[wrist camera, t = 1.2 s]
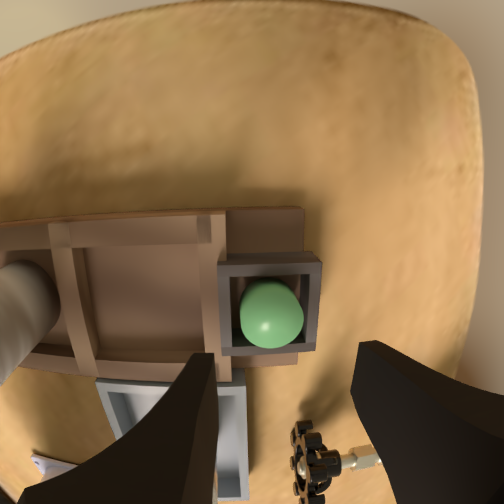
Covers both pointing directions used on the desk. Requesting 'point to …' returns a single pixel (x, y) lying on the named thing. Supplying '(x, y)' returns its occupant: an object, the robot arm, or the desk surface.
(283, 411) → the desk surface
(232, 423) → the tote
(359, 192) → the desk surface
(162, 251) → the brown compartment tray
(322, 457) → the valve
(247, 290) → the button
